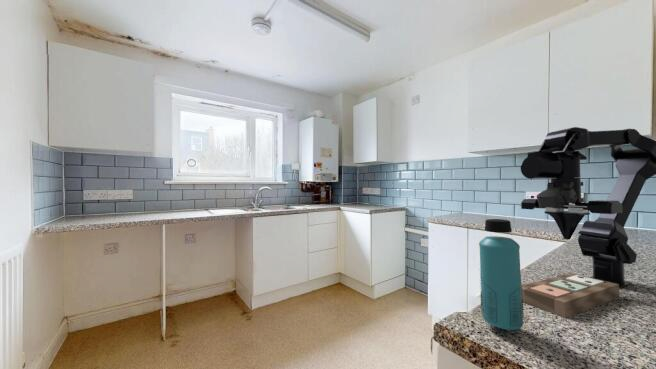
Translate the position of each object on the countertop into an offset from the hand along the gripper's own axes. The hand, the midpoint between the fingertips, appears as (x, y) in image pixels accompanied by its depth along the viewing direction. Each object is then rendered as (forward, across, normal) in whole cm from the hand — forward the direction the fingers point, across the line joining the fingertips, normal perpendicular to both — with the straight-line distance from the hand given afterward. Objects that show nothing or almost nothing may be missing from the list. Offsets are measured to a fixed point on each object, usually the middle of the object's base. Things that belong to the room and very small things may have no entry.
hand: (567, 239), depth 67 cm
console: (+12, +4, -9) cm, 16 cm away
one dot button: (+11, +4, -16) cm, 20 cm away
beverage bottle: (+12, +6, -35) cm, 37 cm away
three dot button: (+11, +4, -9) cm, 15 cm away
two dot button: (+11, +4, -2) cm, 12 cm away
